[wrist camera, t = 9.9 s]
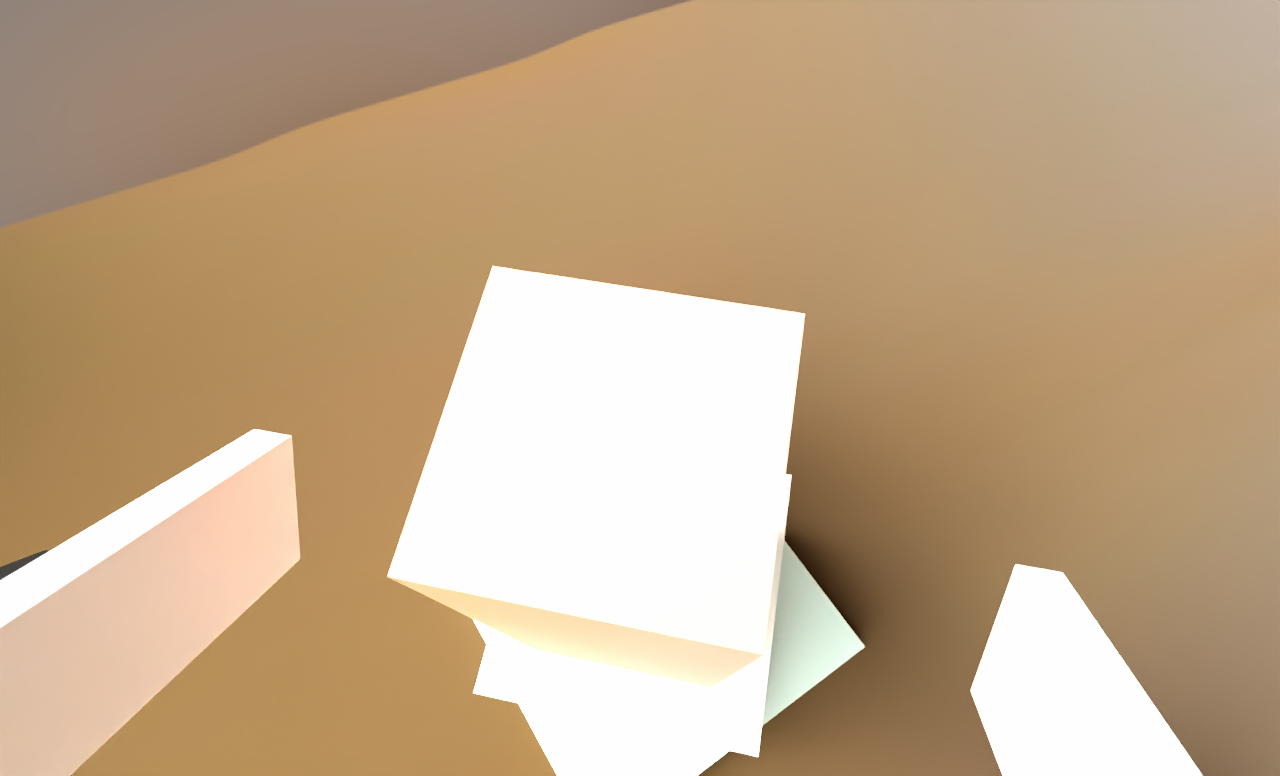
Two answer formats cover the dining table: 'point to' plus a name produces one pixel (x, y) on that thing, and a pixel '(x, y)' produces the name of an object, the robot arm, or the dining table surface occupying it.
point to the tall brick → (611, 475)
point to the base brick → (639, 687)
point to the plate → (668, 768)
